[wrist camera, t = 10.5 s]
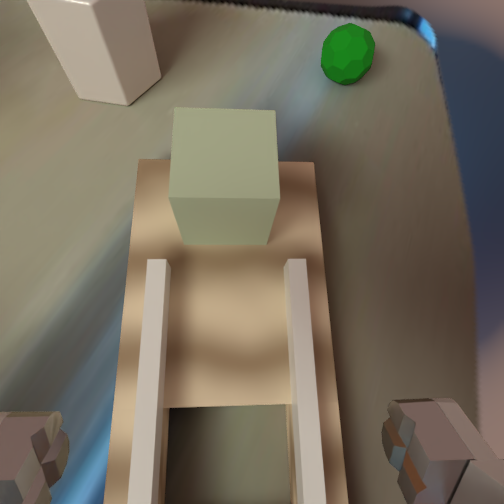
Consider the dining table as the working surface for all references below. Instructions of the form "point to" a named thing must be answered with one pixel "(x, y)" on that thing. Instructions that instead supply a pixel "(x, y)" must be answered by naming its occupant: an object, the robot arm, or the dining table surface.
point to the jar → (101, 46)
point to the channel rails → (153, 381)
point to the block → (224, 175)
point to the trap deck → (225, 323)
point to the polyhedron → (347, 53)
